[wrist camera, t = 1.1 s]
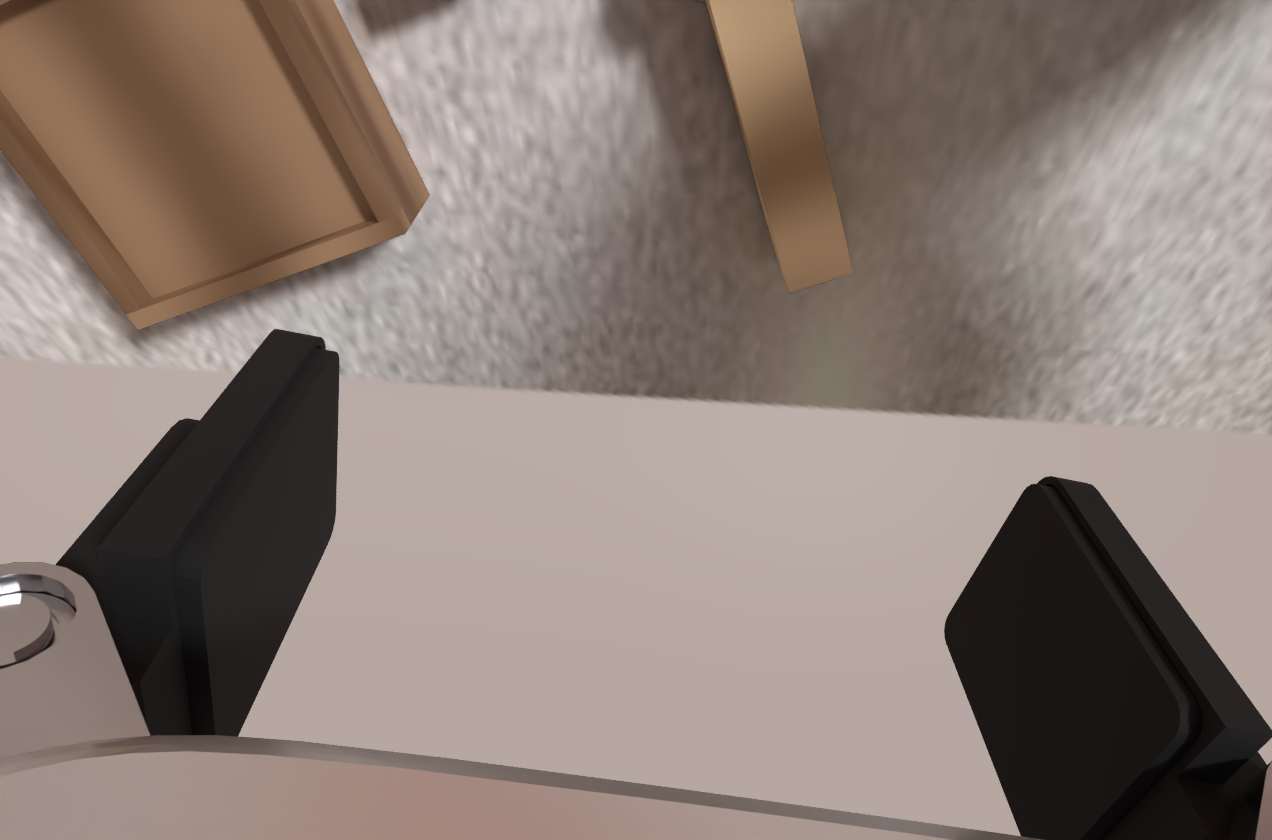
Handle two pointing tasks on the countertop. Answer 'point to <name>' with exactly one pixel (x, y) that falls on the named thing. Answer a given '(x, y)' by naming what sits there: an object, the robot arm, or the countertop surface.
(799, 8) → the countertop surface
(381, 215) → the wooden tray
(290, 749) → the robot arm
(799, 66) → the leg
